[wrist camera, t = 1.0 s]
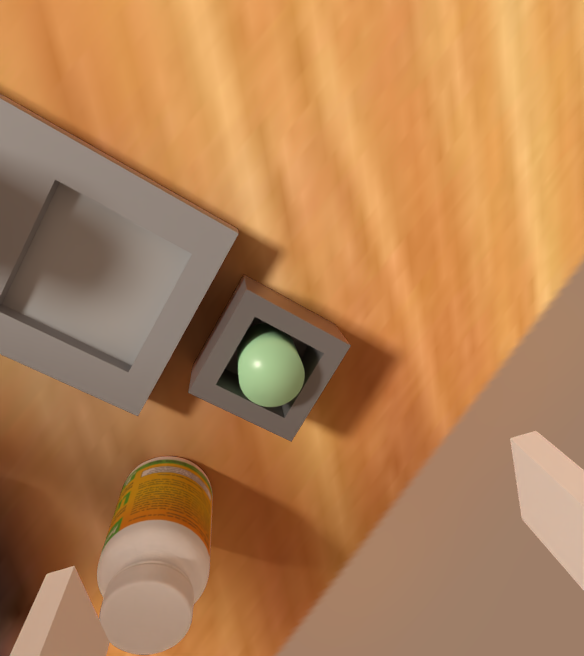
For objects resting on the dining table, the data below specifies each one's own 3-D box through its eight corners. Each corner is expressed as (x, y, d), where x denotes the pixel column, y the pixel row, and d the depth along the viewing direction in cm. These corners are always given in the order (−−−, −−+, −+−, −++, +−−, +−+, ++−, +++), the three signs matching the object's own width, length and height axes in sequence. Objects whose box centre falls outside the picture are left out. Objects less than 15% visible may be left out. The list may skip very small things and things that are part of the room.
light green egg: (226, 362, 30) (226, 389, 26) (254, 312, 29) (259, 333, 25) (276, 386, 30) (283, 417, 26) (304, 339, 30) (316, 363, 26)
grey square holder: (192, 365, 30) (188, 392, 27) (243, 274, 29) (246, 289, 26) (283, 409, 32) (291, 441, 28) (335, 324, 31) (350, 345, 27)
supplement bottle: (124, 451, 31) (81, 566, 22) (216, 455, 32) (212, 568, 23) (120, 529, 33) (79, 669, 24) (209, 532, 34) (203, 668, 24)
